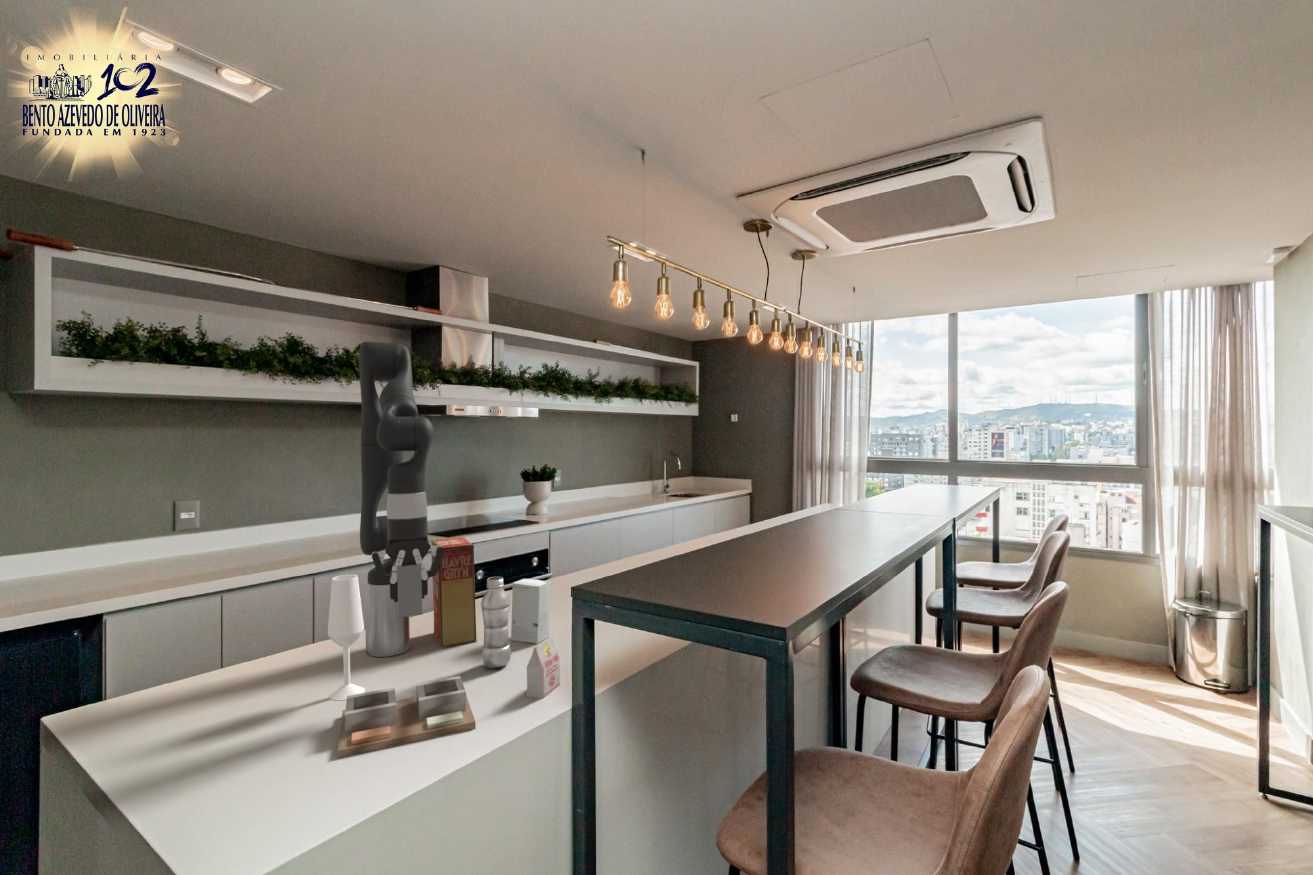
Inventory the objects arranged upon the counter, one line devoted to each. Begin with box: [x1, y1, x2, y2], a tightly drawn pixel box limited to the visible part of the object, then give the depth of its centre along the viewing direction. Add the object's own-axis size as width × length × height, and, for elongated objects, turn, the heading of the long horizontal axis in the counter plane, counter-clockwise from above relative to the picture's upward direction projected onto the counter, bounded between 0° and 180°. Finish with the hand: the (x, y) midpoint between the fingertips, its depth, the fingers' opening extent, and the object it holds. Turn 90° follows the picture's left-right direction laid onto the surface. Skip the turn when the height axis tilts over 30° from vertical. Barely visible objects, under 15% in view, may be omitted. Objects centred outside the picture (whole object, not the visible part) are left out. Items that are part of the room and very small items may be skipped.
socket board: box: [337, 675, 476, 759], centre depth 111 cm, size 22×16×5 cm
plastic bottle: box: [480, 576, 512, 669], centre depth 138 cm, size 6×7×20 cm
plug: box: [397, 563, 423, 618], centre depth 122 cm, size 4×4×10 cm
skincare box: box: [510, 578, 551, 645], centre depth 155 cm, size 8×6×15 cm
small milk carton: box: [526, 636, 561, 699], centre depth 124 cm, size 4×7×10 cm, turn 160°
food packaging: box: [430, 536, 477, 649], centre depth 157 cm, size 13×9×25 cm
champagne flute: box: [327, 574, 366, 701], centre depth 124 cm, size 7×7×24 cm
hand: (409, 599), depth 122 cm, fingers closed on plug, 4 cm apart
